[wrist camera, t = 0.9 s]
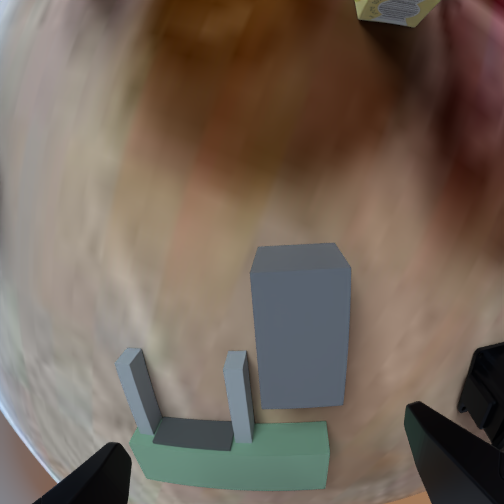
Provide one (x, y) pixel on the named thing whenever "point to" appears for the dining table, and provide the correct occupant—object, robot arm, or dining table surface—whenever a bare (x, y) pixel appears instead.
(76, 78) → the dining table surface
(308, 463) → the green and blue-gray block
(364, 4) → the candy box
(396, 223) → the dining table surface
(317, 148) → the dining table surface
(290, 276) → the slate gray cuboid
